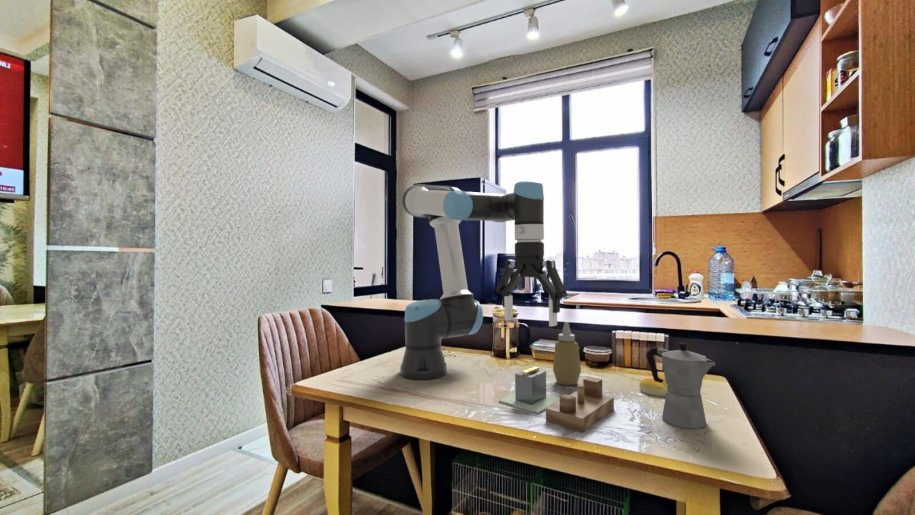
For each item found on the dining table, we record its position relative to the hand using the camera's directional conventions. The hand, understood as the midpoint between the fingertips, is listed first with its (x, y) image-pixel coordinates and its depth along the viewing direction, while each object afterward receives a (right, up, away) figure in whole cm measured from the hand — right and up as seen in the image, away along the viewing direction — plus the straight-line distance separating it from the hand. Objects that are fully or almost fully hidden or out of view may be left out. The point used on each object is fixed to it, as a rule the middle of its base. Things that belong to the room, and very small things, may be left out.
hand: (529, 322), depth 107 cm
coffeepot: (+32, -21, -12) cm, 40 cm away
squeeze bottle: (+14, -20, +15) cm, 29 cm away
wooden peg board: (+11, -21, -9) cm, 25 cm away
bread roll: (+36, -20, +6) cm, 42 cm away
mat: (0, -21, 0) cm, 21 cm away
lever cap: (0, -20, 0) cm, 20 cm away
